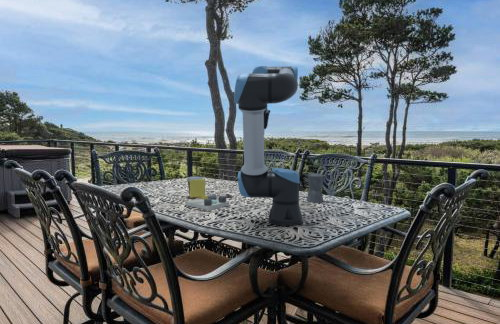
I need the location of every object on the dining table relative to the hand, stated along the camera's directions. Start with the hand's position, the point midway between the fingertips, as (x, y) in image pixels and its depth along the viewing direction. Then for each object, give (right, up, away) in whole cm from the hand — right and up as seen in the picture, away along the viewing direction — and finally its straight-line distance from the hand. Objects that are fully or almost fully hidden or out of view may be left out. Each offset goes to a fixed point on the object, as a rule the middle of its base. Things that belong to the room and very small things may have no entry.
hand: (261, 141), depth 189 cm
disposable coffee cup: (-39, -32, +25) cm, 57 cm away
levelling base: (-29, -34, +2) cm, 45 cm away
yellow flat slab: (-31, -32, +1) cm, 44 cm away
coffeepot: (+30, -34, +14) cm, 47 cm away
